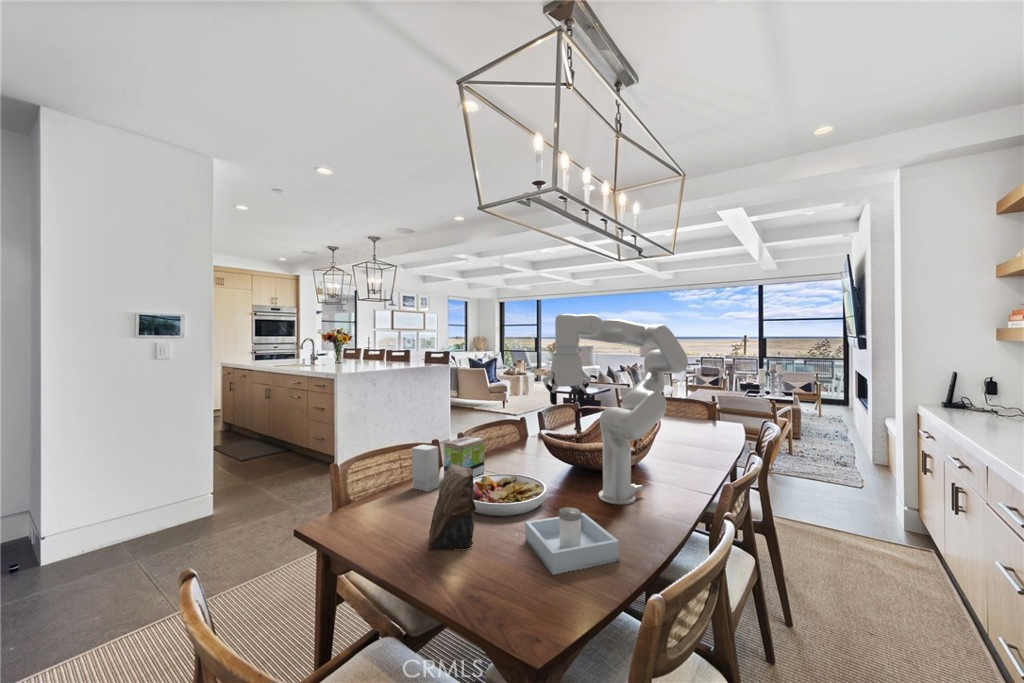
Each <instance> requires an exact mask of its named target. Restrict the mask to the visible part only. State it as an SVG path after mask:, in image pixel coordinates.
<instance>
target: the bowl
mask: <svg viewBox="0 0 1024 683" xmlns="http://www.w3.org/2000/svg"><path fill="white" fill-rule="evenodd" d="M473 485H474V486H473V498H474V503H475V506H476V510H475V512H476V513H477V514H481V515H487V516H493V517H508V516H510V517H511V516H516V515H522V514H525V513H529V512H531V511H533V510H535V509H536V508H538V507H539V506H541V505H542V504H543V502H544V500H545V499H546V497H547V496H546V494H547V486H546V484H545V483H544V482H543V481H541V480H540V479H538V478H535V477H532V476H529V475H525V474H524V475H523V474H516V473H492V474H484V475H478V476H475V477H473ZM475 512H474V513H475Z"/></svg>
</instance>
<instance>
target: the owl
mask: <svg viewBox="0 0 1024 683" xmlns="http://www.w3.org/2000/svg"><path fill="white" fill-rule="evenodd" d="M473 478H474V477H473V470H472V469H471V468H465V467H460V466H457V465H456V464H454V463H449V466H448V469H447V471H446V474H445V477H444V476H443V479H442V482H441V485H440V487H439V492H438V497H437V500H436V504H435V507H434V510H433V514H432V517H431V518H432V519H431V523H430V529H429V531H428V541H427V542H428V549H427V551H428V552H429V551H456V550H455V549H462V550H461V551H464V550H463V549H467V550H469V549H468V548H470V547H472V546H471V545H472V544H473V545H474V541H473V537H474V536H473V535H474V530H475V520H474V518H475V517H474V515H475V510H476V506H475V503H474V498H473V486H474V485H473ZM472 541H473V542H472ZM472 548H473V547H472Z"/></svg>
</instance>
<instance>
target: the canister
mask: <svg viewBox="0 0 1024 683" xmlns="http://www.w3.org/2000/svg"><path fill="white" fill-rule="evenodd" d="M581 513H582V512H581V510H580V509H579V508H576V507H570V506H568V507H567V506H566V507H562V508H560V509H559V510H558V517H559V539H560V548H561V549H567V548H572V547H578V546H581V519H580V518H581Z"/></svg>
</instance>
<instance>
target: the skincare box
mask: <svg viewBox="0 0 1024 683" xmlns="http://www.w3.org/2000/svg"><path fill="white" fill-rule="evenodd" d="M439 463H440V462H439V446H437V445H436V446H435V445H430V444H419V445H417V446H414V447H411V470H412V472H411V473H412V489H413V488H415V489H414V490H417V489H419V491H422V490H423V491H424V492H426V491H427V492H426V493H429V492H431V490H432V491H434V490H436V489H439V488H440V469H439V468H440V467H439ZM435 488H436V489H435ZM433 489H434V490H433Z"/></svg>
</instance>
